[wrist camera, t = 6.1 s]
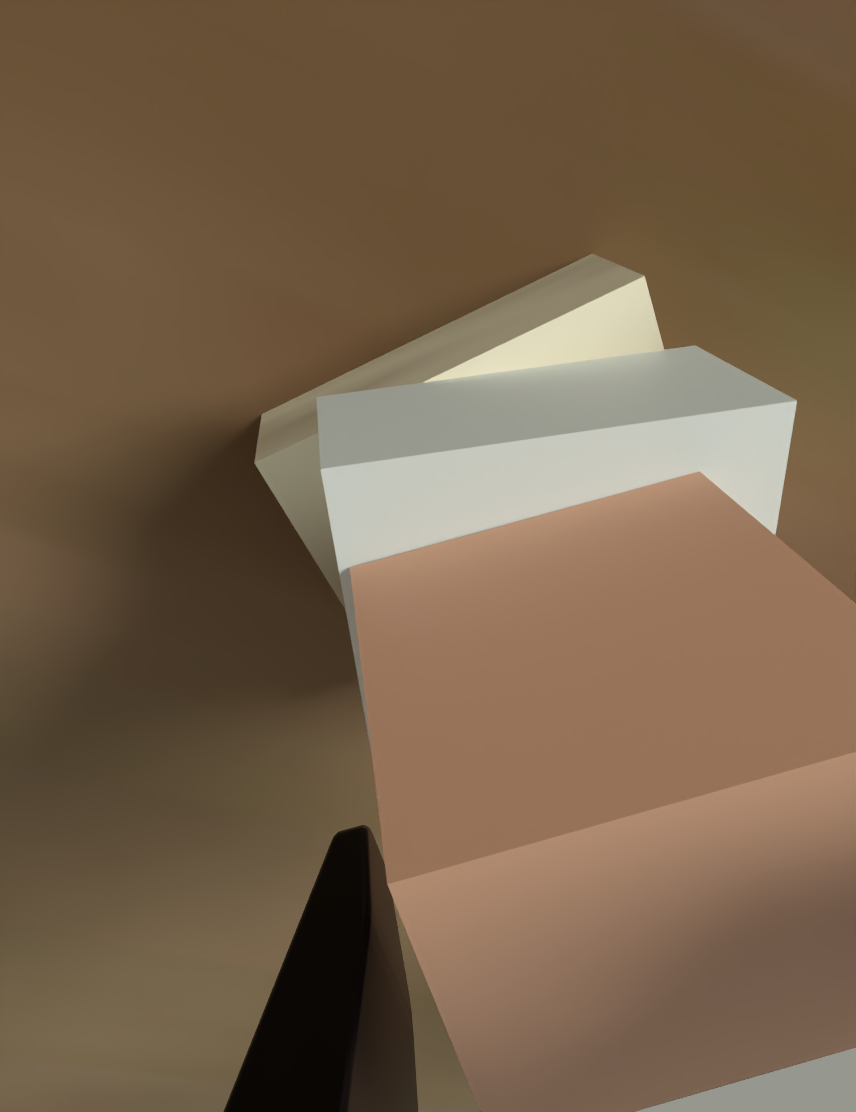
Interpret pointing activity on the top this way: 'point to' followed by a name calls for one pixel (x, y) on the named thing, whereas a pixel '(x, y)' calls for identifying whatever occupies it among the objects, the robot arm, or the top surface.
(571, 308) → the tower base
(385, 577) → the cube
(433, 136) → the top surface
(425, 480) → the tower top
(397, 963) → the robot arm
